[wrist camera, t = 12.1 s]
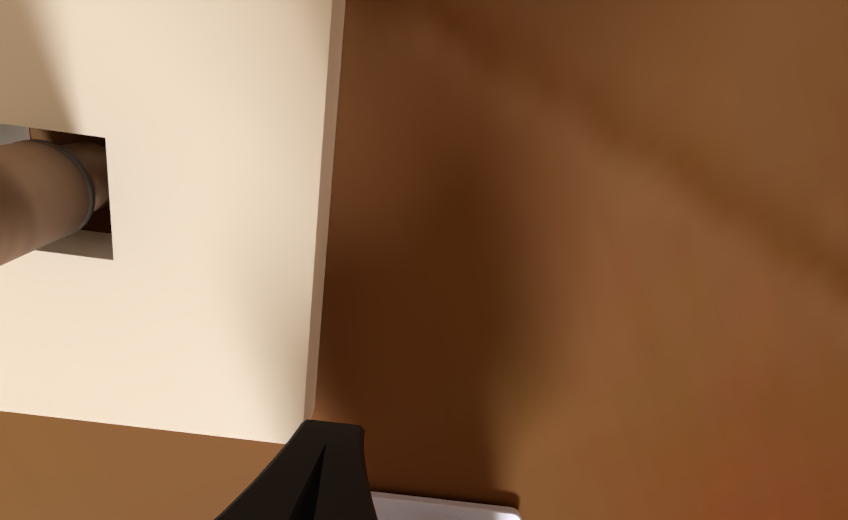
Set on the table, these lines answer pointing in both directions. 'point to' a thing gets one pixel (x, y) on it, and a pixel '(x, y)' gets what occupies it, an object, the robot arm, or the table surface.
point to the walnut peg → (48, 192)
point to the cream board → (176, 212)
